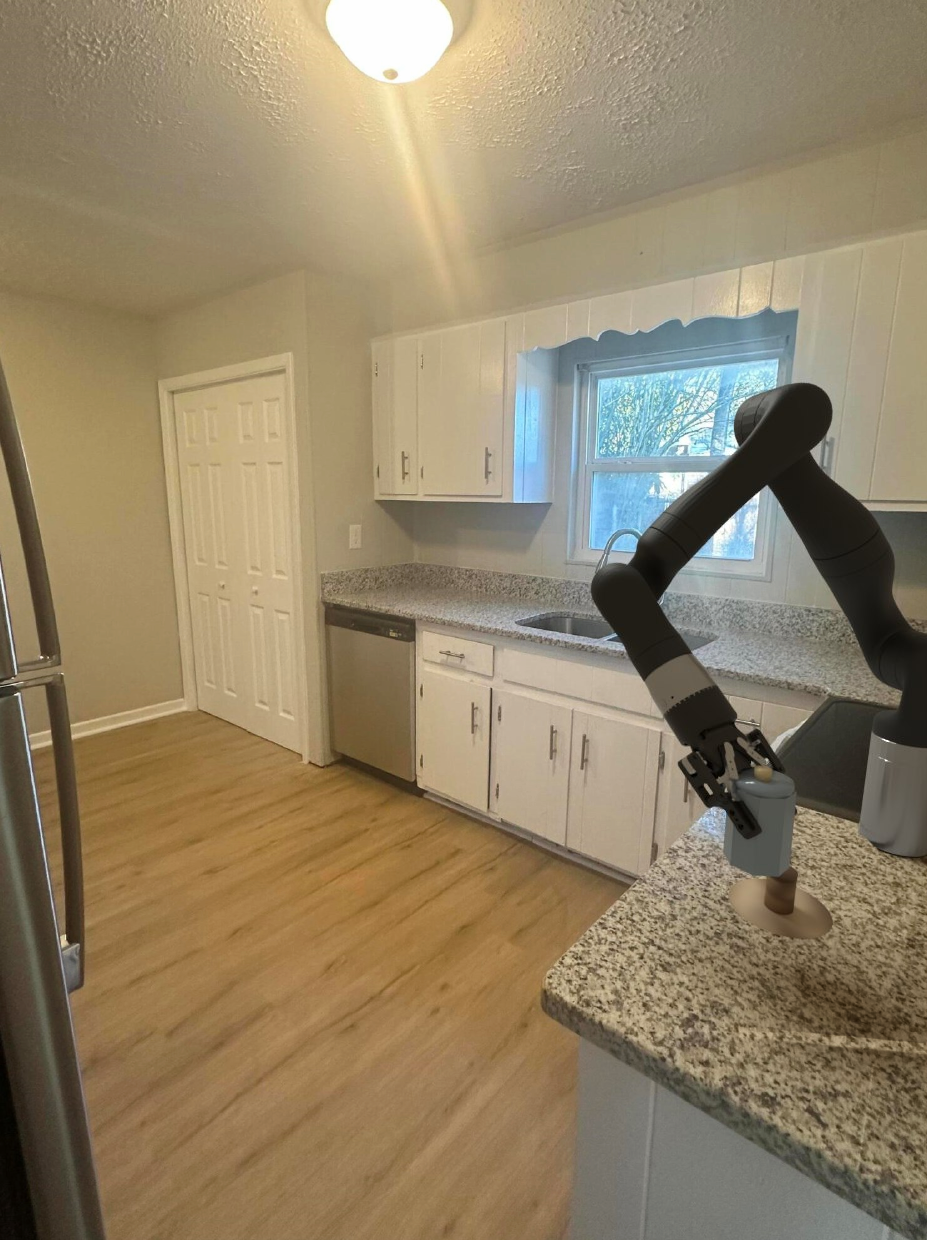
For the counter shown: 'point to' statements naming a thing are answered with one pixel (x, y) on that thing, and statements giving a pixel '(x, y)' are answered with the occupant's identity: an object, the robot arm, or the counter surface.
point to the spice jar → (781, 892)
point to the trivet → (802, 923)
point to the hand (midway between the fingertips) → (772, 826)
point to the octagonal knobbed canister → (763, 823)
